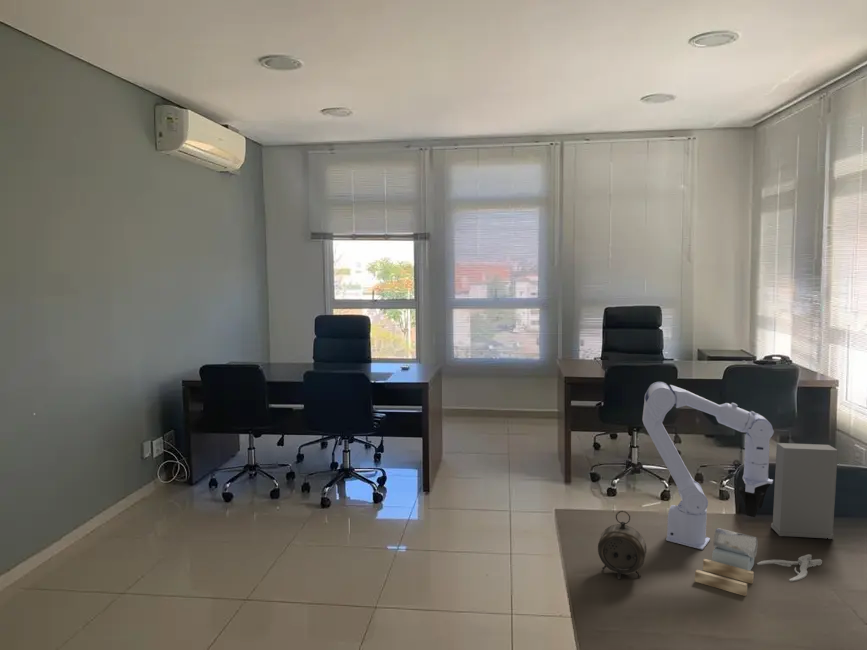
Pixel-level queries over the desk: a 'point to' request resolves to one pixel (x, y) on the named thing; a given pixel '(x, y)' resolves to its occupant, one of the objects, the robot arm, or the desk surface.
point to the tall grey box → (804, 490)
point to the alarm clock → (622, 549)
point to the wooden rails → (722, 581)
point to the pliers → (803, 561)
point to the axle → (735, 542)
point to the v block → (732, 559)
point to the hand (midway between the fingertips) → (754, 511)
